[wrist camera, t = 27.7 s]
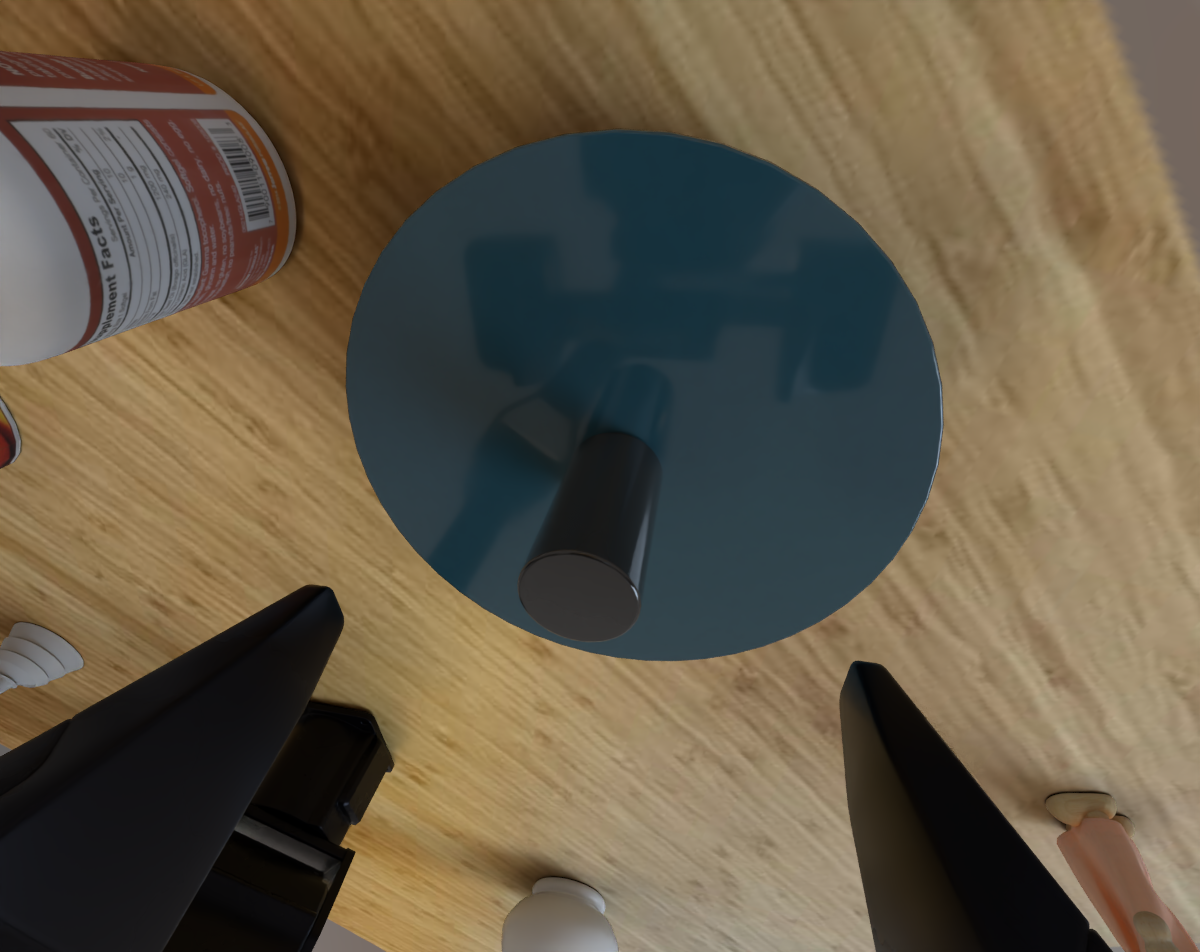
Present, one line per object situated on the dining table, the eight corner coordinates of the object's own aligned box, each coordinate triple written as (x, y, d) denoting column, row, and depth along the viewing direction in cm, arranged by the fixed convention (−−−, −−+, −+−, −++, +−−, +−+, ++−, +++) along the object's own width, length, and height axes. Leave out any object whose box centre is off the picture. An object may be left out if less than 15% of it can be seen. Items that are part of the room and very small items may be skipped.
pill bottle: (107, 188, 18) (-503, 253, 9) (149, 9, 15) (-714, -157, 6) (267, 319, 20) (-117, 484, 11) (336, 182, 17) (-125, 255, 8)
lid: (426, 605, 20) (337, 749, 15) (293, 135, 12) (20, 144, 7) (846, 663, 17) (889, 856, 13) (1044, 119, 9) (1354, 118, 5)
